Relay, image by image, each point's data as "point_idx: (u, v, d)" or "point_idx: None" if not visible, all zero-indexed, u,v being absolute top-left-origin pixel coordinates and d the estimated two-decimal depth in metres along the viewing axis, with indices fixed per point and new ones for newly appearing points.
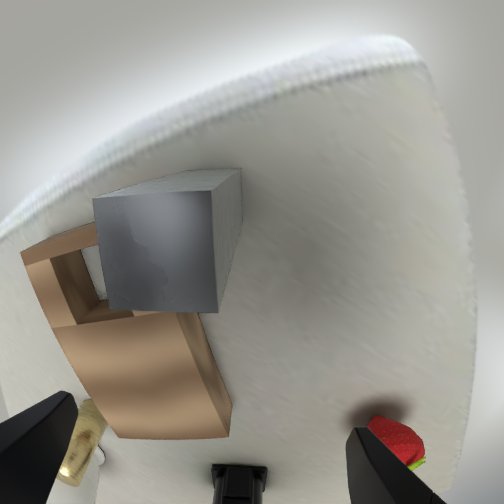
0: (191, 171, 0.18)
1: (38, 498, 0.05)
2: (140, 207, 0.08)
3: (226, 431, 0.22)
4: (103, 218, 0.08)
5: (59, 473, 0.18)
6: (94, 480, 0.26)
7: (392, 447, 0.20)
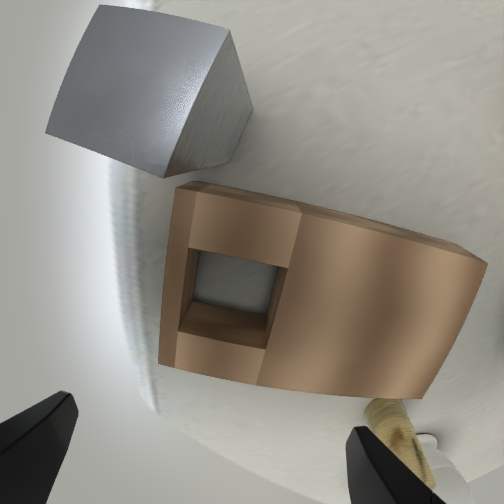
0: None
1: (38, 498, 0.05)
2: (75, 76, 0.06)
3: (480, 260, 0.15)
4: (65, 126, 0.06)
5: None
6: (445, 463, 0.20)
7: None
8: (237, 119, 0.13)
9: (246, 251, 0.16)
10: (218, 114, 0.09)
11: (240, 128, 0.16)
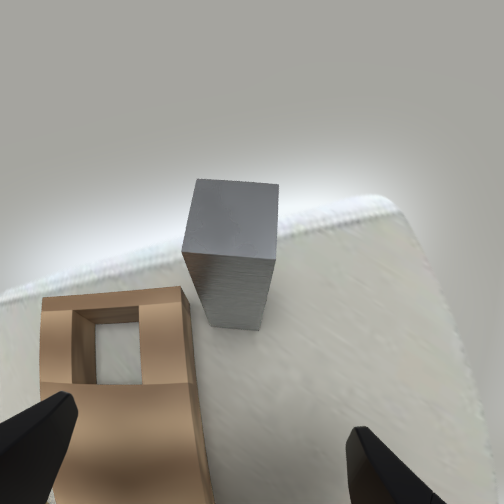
0: None
1: (38, 498, 0.05)
2: (231, 187, 0.13)
3: None
4: (201, 190, 0.13)
5: None
6: None
7: None
8: (241, 312, 0.19)
9: (146, 349, 0.18)
10: (232, 285, 0.15)
11: (238, 323, 0.21)
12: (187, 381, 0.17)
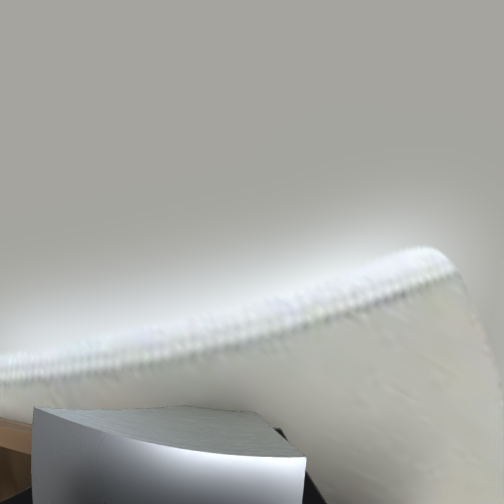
0: (193, 408, 0.13)
1: None
2: (132, 466, 0.03)
3: None
4: (48, 454, 0.03)
5: None
6: None
7: None
8: None
9: None
10: None
11: None
12: None
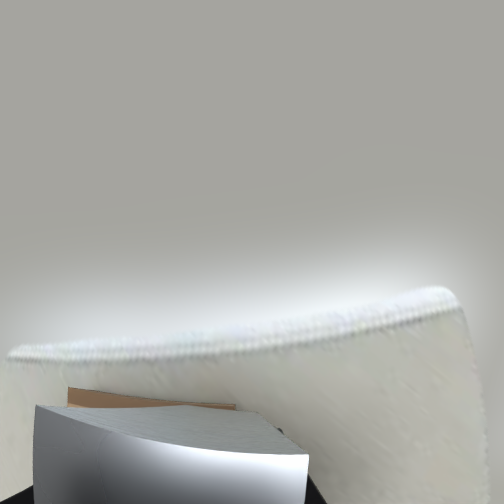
0: (194, 407, 0.13)
1: None
2: (135, 464, 0.03)
3: None
4: (50, 453, 0.03)
5: None
6: None
7: None
8: None
9: None
10: None
11: None
12: None
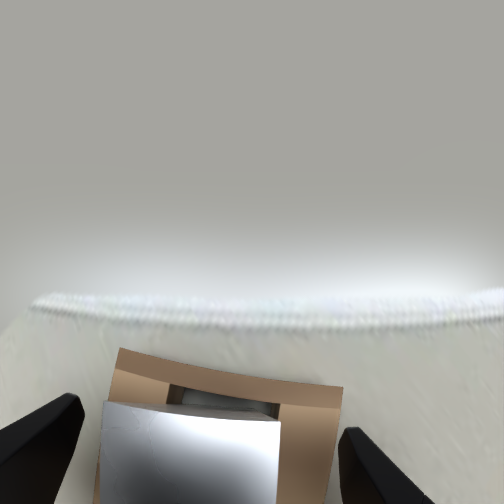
0: (199, 405, 0.15)
1: (45, 501, 0.05)
2: (174, 431, 0.05)
3: None
4: (115, 431, 0.05)
5: None
6: None
7: None
8: None
9: (280, 463, 0.12)
10: None
11: None
12: None
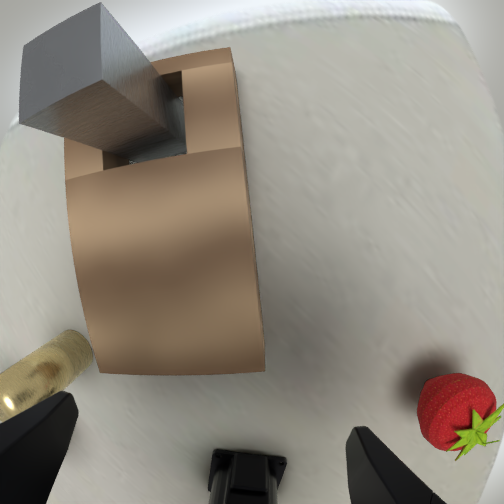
0: None
1: (38, 498, 0.05)
2: (53, 33, 0.07)
3: (263, 359, 0.17)
4: (27, 53, 0.07)
5: (0, 400, 0.12)
6: None
7: (471, 389, 0.15)
8: (148, 140, 0.15)
9: (192, 114, 0.16)
10: (101, 121, 0.11)
11: (161, 150, 0.18)
12: (240, 145, 0.16)
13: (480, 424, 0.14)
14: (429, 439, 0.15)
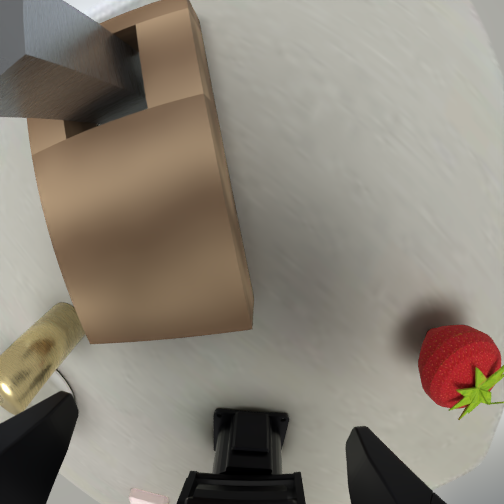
0: None
1: (38, 498, 0.05)
2: None
3: (249, 316, 0.17)
4: None
5: None
6: None
7: (474, 344, 0.15)
8: (106, 101, 0.13)
9: (149, 67, 0.13)
10: (45, 93, 0.08)
11: (125, 109, 0.16)
12: (202, 92, 0.13)
13: (484, 382, 0.14)
14: (431, 396, 0.16)
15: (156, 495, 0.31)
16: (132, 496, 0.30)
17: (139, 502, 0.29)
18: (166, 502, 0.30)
